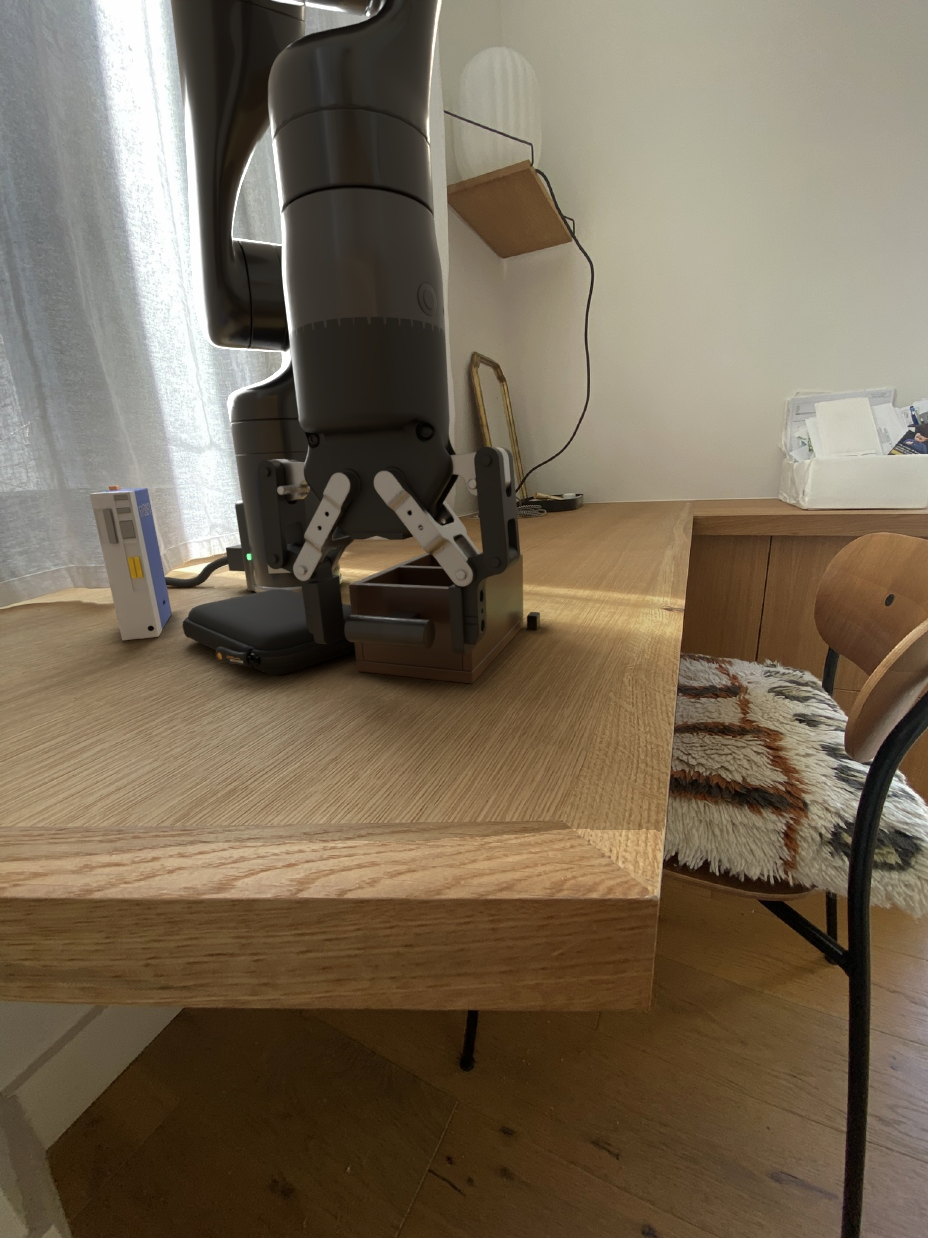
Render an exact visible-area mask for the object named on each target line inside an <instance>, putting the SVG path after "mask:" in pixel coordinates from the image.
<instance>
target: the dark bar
mask: <svg viewBox="0 0 928 1238" xmlns="http://www.w3.org/2000/svg"><path fill="white" fill-rule="evenodd" d="M540 627H541V613H540V612H537V611H530V612H529V613H528V614H527V615H526V630H527V631H538V630H539V628H540Z"/></svg>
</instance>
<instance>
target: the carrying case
mask: <svg viewBox="0 0 928 1238" xmlns="http://www.w3.org/2000/svg"><path fill="white" fill-rule="evenodd" d="M342 607H343V616H344V625H345V622H346V619H347V618H348V617H349V616H350V615H351V606H350V604H346V603H343V602H342ZM305 616H306V615H305V608H304V601H303V593H298V592H294V591H290V590H284V589H274V590H268V591H264V592H259V593H256V592H255V593H250V594H245V595H240V596H234V597H230V598H225V599H221V600H217V601H216V600H215V601H212V602H207V603H203V604H199V605H196V606H194V607H192V608H191V609H190V611H189V612H188V615H187V617H185V618H184V619H183V621H182V626H181V627H182V630H183V633H184V636H185V637H186V638H187V639H191V640H193V641H195V642H197V643H199V644H201V645H204V646H206V647H208V648H209V649H212V650H214V651H215V658H216V659H217V660H218V661H219V662H220V663H222V664H226V665H227V664H229V665H230V664H232V665H239V666H242V667H247V668H249V669H252V668H253V669H256V670H258V671H259V672H260V671H261V672H262V673H264V674H265V673H266V674H268V675H285V674H290V673H294V672H297V671H299V670H302V669H305V668H309V667H312V666H315V665H317V664H321V663H324V662H326V661H330V660H333V659H335V658H339V657H343V656H344V655H348V654H352V653H355V645H354V642H350V641H348V640H347V639H346V637H345V633H344V635H343V637H342V638H340V639H338V640H336V641H334V642H332V643H331V644H318V643H316V642H315V640H314V635H313V634H312V633H310V631H309V629H308V627H307V624H306V617H305Z"/></svg>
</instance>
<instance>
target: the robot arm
mask: <svg viewBox="0 0 928 1238" xmlns="http://www.w3.org/2000/svg"><path fill="white" fill-rule="evenodd" d="M442 4H443V0H170V5H171V15H172V23H173V33H174V40H175V49H176V57H177V65H178V73H179V74H178V75H179V83H180V92H181V101H182V111H183V121H184V132H185V144H186V147H185V148H186V161H187V163H186V164H187V183H188V205H189V207H188V208H189V229H190V231H189V233H190V255H191V256H190V257H191V258H190V259H191V273H192V288H193V297H194V304H195V312H196V316H197V320H198V324H199V327H200V330H201V332H202V334H203V336H204V338H205V339H206V341H207V342H209V343H210V345H212V346H213V347H216V348H220V349H228V350H238V351H255V352H256V351H257V352H276V353H277V352H279V353H281V359H282V360H281V361H282V362H281V367H280V368H279V370H277V371H276V372H275V373H273V375H271V376H269V377H268V378H266V379H264V380H262V381H260V382H256V383H253V384H251V385H248V386H245V387H242V388H240V389H237V390H234V391H233V392H232V393H231V394H229V396H228V399H227V409H228V416H229V422H230V429H231V436H232V444H233V449H234V455H235V463H236V470H237V476H238V481H239V489H240V495H241V496H240V497H241V499H240V500H237V501H236V502H235V504H234V509H235V517H236V522H237V529H238V530H237V531H238V535H239V536H238V537H239V543H240V544H235V545H231V546H227V547H225V553H226V555H225V556H223V557H220V558H217V559H215V560H213V561H210V563H208V564H207V565H205V566H204V567H203V568H202V570H201V571H200V573H199V574H198V575H197V576H195V577H191V578H177V577H170V576H165V581H166V586H168V587H175V588H194V587H197V586H199V585H202V584H203V583H205V582H206V581H207V580H208V579H209V577H211V575H212V574H213V573H214V572H215V571H216V570H218V569H221V568H223V567H225V566H228V570H229V572H244V575H245V581H246V587H247V588H246V589H247V591H253V592H255V593H259V592H264V591H268V590H274V589H284V590H290V591H294V592H298V593H303V601H304V608H305V615H306V616H305V617H306V624H307V627H308V629H309V631H310V633H312V634H313V635H314V640H315V642H316V643H318V644H331V643H332V642H334V641H336V640H338V639H340V638H342V637H343V635H344V626H345V625H344V616H343V607H342V603H343V599H342V589H341V584H343V576H342V573H341V563H340V559H341V558H342V556H343V555H344V552H345V551H346V549H347V548H348V547H349V546H350V545H352V543H353V542H354V541H355V540H356V541H357V540H360V541H361V540H362V541H363V540H367V539H370V538H371V539H372V538H374V537H380V538H383V539H385V540H386V539H387V540H389V541H404V540H407V539H411V538H414V539H415V540H416V542H417V543H418V545H419V546H420V547H421V548H422V550H423V551H424V552H425V553H426V552H427V553H429V554H431V555H433V556H434V557H435V559H436V560H437V561H438V563H439V564H440V565H441V567H442V568H443V569H444V571H445V572H446V573H447V574H448V576H449V577H450V578H451V580H452V581H453V582H454V585H452V586H450V587H448V590H449V608H450V627H451V645H452V652H453V654H462V655H467V654H468V653H470V652H471V651H472V650H473V649H474V648H475V647H476V645H477V643H478V642H479V641H480V640H481V639H482V638H483V637H484V635H485V633H486V630H487V619H486V617H487V612H486V581H487V578H488V577H490V576H493V575H497V574H501V573H503V572H504V571H506V570H507V569H509V568H510V567H512V566H513V565H515V564H516V563H517V562H518V561H519V559H520V554H521V544H520V543H521V541H520V531H519V530H520V529H519V519H518V505H517V492H516V480H515V467H514V457H513V454H512V452H511V451H510V449H508V448H507V447H504V446H483V447H481V448H479V449H478V450H477V451H473V452H467V453H456V451H455V449H454V447H453V444H452V441H451V438H450V420H451V419H450V401H449V381H448V379H449V378H448V358H447V340H446V339H447V337H446V321H445V319H446V318H445V301H444V299H445V298H444V282H443V280H444V279H443V271H442V263H441V258H440V257H441V256H440V252H439V247H438V246H439V245H438V240H437V235H436V234H437V233H436V224H435V210H434V209H435V207H434V191H433V190H434V188H433V187H434V186H433V169H432V167H433V166H432V154H431V153H432V152H431V151H432V150H431V125H430V124H431V122H430V121H431V119H430V118H431V96H432V95H431V93H432V79H433V78H432V77H433V71H434V70H433V68H434V61H435V60H434V59H435V51H436V42H437V34H438V28H439V22H440V17H441V9H442ZM307 8H312V9H317V10H323V11H330V12H335V13H340V14H341V13H342V14H347V15H353V16H357V17H362V16H364V17H365V18H367V19H365V20H363V21H360V22H357V23H352V24H348V25H345V26H339V27H333V28H327V29H322V30H318V31H315V32H312V33H309V34H306V25H307V24H306V22H307ZM269 127H270V128H269ZM268 129H270V136H271V145H272V154H273V163H274V170H275V171H274V172H275V179H276V188H277V197H278V205H279V213H280V227H281V244H280V243H273V242H265V241H258V240H250V239H245V238H244V239H243V238H235V237H233V231H234V228H233V227H234V220H235V213H236V208H237V203H238V198H239V194H240V191H241V186H242V184H243V181H244V179H245V175H246V173H247V170H248V168H249V167H250V163H251V161H252V159H253V156H254V154H255V153H256V151H257V149H258V147H259V145H260V143H261V141H262V139H263V138H264V136H265V134H266V133H267V131H268ZM459 477H460V478H462V480H463V481H464V483H465V487H466V490H467V491H468V493H469V494H470V495H472V496H475V497H477V505H478V517H479V525H480V527H479V528H480V536H481V537H480V538H481V549H482V552H481V551H480V550H479V549H478V547H477V546H476V545H475V544H474V542H473V541H472V539H471V538H470V537H469V535H468V532H467V528H466V526H465V524H464V523H463V522H462V520H460V518H459V517H458V515H457V514H456V513H455V512H454V510H453V509H452V508H451V506H450V505H449V504H448V502H447V500H446V499H447V498H448V496H449V494H450V492H451V491H452V489H453V488H454V486H455V484H456V482H457V481H458V478H459Z"/></svg>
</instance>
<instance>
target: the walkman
mask: <svg viewBox="0 0 928 1238" xmlns="http://www.w3.org/2000/svg"><path fill="white" fill-rule="evenodd" d="M89 498H90V499H89V500H90V502H91V507H92V512H93V515H94V516H93V517H94V520H95V525H96V530H97V534H98V539H99V542H100V547H101V553H102V556H103V561H104V565H105V570H106V576H107V578H108V579H107V580H108V583H109V588H110V592H111V596H112V602H113V605H114V610H115V614H116V619H117V623H118V628H119V632H120V637H121V640H122V641H128V640H129V641H130V640H137V639H140V640H141V639H151V638H159V636H160V635H161V633H162V632H163V629H164V627H165V626H166V624H167V622H168V620H169V618H170V617H171V615H172V613H173V612H172V608H171V602H170V598H169V592H168V587H167V586H166V581H165V577H166V576H165V571H164V567H163V561H162V557H161V551H160V546H159V540H158V535H157V531H156V524H155V519H154V514H153V510H152V504H151V499H150V494H149V489H148V487H143V488H141V487H139V488H123V489H122V488H121V486H120V485H109V486H108V490H104V491H97V492H91V493H89Z"/></svg>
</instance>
